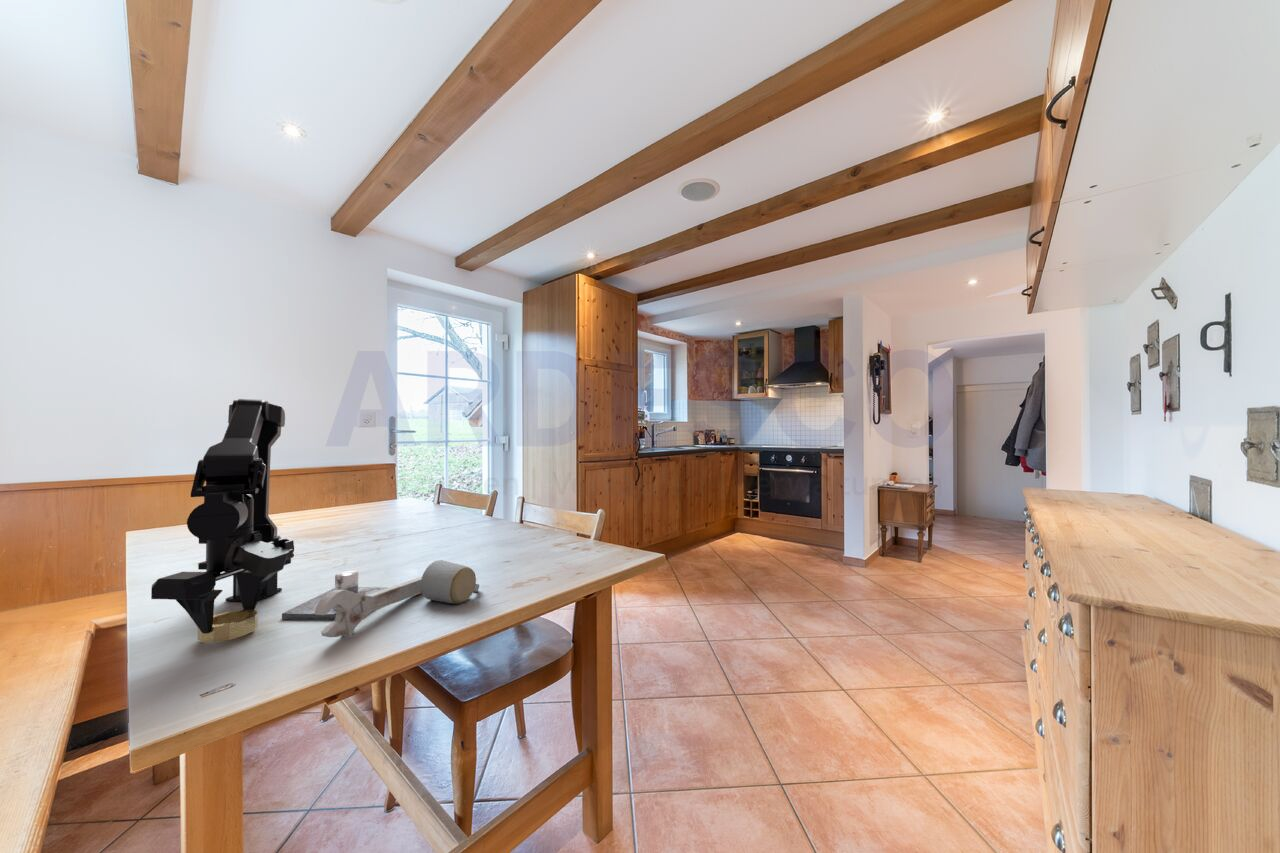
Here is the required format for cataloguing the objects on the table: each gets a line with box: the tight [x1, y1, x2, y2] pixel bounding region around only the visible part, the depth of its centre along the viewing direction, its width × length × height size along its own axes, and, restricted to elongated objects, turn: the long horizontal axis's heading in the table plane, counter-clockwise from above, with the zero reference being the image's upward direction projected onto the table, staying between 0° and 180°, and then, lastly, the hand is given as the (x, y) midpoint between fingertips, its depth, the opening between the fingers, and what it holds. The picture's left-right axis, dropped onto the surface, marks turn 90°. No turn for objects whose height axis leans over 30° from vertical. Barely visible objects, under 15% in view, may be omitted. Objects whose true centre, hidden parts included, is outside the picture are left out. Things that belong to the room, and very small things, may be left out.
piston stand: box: [281, 570, 391, 621], centre depth 87 cm, size 14×14×6 cm
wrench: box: [315, 576, 422, 638], centre depth 83 cm, size 8×2×30 cm
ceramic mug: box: [420, 559, 480, 605], centre depth 91 cm, size 11×8×8 cm
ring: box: [197, 608, 259, 643], centre depth 73 cm, size 7×7×2 cm
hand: (228, 623), depth 73 cm, fingers closed on ring, 7 cm apart
